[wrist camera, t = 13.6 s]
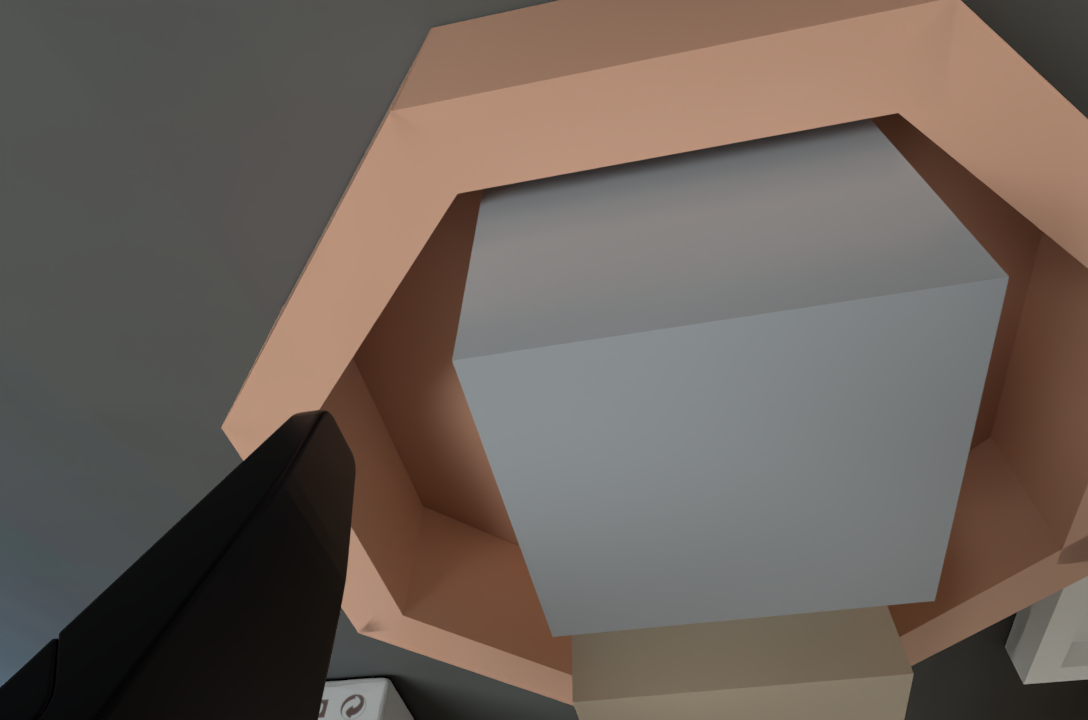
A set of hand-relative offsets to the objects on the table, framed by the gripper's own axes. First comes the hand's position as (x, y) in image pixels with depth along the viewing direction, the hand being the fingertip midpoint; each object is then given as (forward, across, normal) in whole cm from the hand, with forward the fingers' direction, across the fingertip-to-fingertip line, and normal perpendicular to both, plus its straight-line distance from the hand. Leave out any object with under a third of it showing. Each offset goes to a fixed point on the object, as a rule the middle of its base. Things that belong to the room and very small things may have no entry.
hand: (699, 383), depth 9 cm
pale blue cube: (+3, 0, 0) cm, 3 cm away
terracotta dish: (+4, 0, +3) cm, 5 cm away
